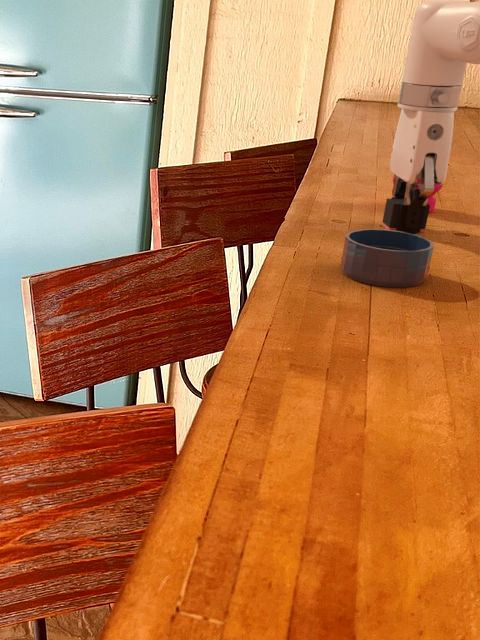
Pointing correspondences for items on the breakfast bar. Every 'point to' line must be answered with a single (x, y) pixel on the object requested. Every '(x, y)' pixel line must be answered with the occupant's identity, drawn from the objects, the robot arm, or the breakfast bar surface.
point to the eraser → (393, 213)
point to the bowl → (386, 257)
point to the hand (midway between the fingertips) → (403, 227)
